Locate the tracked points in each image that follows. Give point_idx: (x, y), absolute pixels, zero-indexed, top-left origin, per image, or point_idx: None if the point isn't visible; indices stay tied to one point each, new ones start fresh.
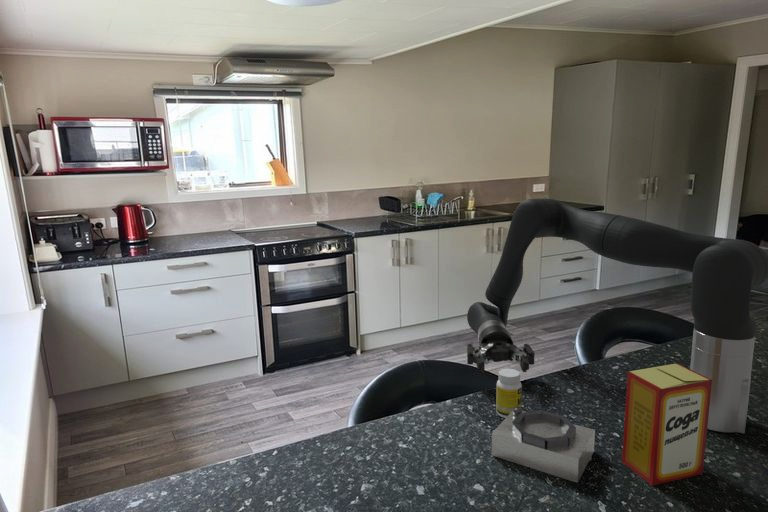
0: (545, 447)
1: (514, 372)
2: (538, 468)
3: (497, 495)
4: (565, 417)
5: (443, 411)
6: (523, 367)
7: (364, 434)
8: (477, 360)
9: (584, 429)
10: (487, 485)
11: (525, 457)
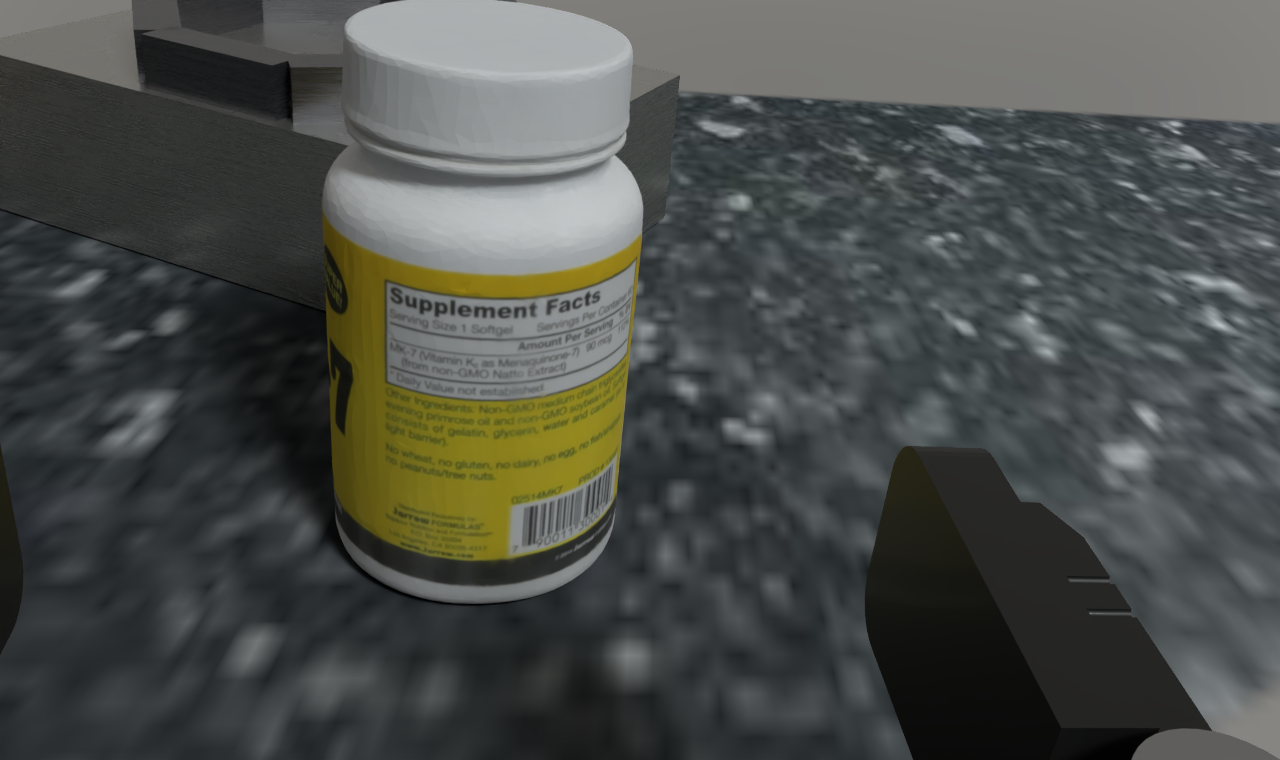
0: None
1: (418, 26)
2: None
3: None
4: (136, 24)
5: (1171, 552)
6: (3, 494)
7: None
8: (1120, 616)
9: (39, 52)
10: (683, 130)
11: None
